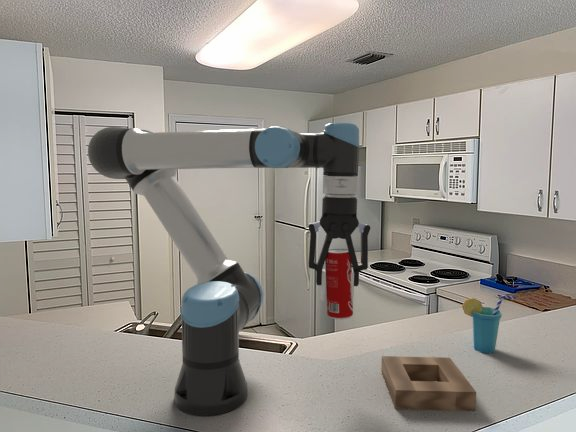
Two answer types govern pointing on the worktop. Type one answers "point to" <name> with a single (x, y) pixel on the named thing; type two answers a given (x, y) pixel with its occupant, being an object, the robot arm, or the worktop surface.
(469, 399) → the socket
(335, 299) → the beverage can
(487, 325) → the cup
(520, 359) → the worktop surface
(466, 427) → the worktop surface
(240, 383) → the robot arm
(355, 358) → the worktop surface
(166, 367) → the worktop surface
